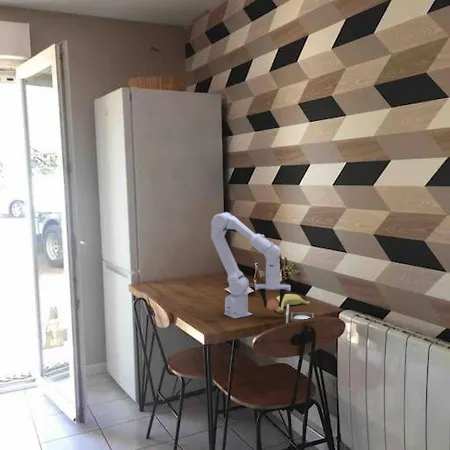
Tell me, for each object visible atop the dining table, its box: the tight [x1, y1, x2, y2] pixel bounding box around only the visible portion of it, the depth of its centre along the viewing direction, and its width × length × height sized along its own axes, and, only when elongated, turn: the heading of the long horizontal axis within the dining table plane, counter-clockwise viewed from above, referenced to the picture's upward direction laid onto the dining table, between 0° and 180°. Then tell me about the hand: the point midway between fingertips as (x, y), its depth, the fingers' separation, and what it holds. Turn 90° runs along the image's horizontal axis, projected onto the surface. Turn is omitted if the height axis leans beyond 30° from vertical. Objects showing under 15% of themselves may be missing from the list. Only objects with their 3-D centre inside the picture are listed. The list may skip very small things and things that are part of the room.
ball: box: [266, 296, 279, 311], centre depth 203 cm, size 6×6×6 cm
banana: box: [275, 293, 311, 314], centre depth 218 cm, size 14×6×20 cm
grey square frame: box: [290, 311, 315, 322], centre depth 202 cm, size 9×9×1 cm
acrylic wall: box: [285, 304, 290, 325], centre depth 202 cm, size 16×1×4 cm, turn 171°
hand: (272, 306), depth 203 cm, fingers closed on ball, 5 cm apart
